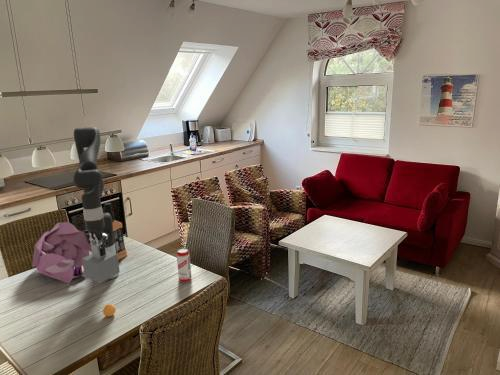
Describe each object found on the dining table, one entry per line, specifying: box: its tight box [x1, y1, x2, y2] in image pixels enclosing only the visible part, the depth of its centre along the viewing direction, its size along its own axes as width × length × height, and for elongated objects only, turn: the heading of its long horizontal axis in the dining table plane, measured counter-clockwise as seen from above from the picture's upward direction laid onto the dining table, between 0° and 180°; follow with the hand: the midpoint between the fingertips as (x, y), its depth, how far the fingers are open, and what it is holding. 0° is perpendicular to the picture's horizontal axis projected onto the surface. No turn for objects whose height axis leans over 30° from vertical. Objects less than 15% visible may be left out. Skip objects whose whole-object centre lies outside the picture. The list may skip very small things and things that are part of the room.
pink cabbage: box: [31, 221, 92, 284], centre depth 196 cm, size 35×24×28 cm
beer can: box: [176, 247, 192, 284], centre depth 186 cm, size 6×6×16 cm
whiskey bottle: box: [103, 202, 128, 262], centre depth 211 cm, size 10×10×32 cm
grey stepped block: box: [82, 242, 120, 284], centre depth 164 cm, size 10×10×15 cm
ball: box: [102, 303, 117, 318], centre depth 161 cm, size 5×5×5 cm
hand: (99, 254), depth 164 cm, fingers closed on grey stepped block, 4 cm apart
